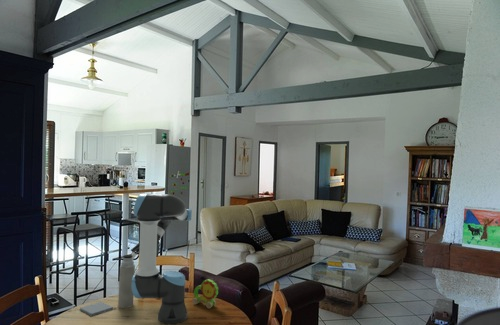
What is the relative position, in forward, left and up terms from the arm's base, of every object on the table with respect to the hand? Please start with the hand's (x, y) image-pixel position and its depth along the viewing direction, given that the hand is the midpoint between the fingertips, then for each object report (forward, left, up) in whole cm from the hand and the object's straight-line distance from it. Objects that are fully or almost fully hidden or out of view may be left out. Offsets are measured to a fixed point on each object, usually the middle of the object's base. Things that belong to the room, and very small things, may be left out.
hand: (137, 264), depth 200 cm
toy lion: (-36, -22, -21) cm, 47 cm away
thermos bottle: (-2, +8, -21) cm, 23 cm away
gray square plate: (+4, +22, -21) cm, 31 cm away
